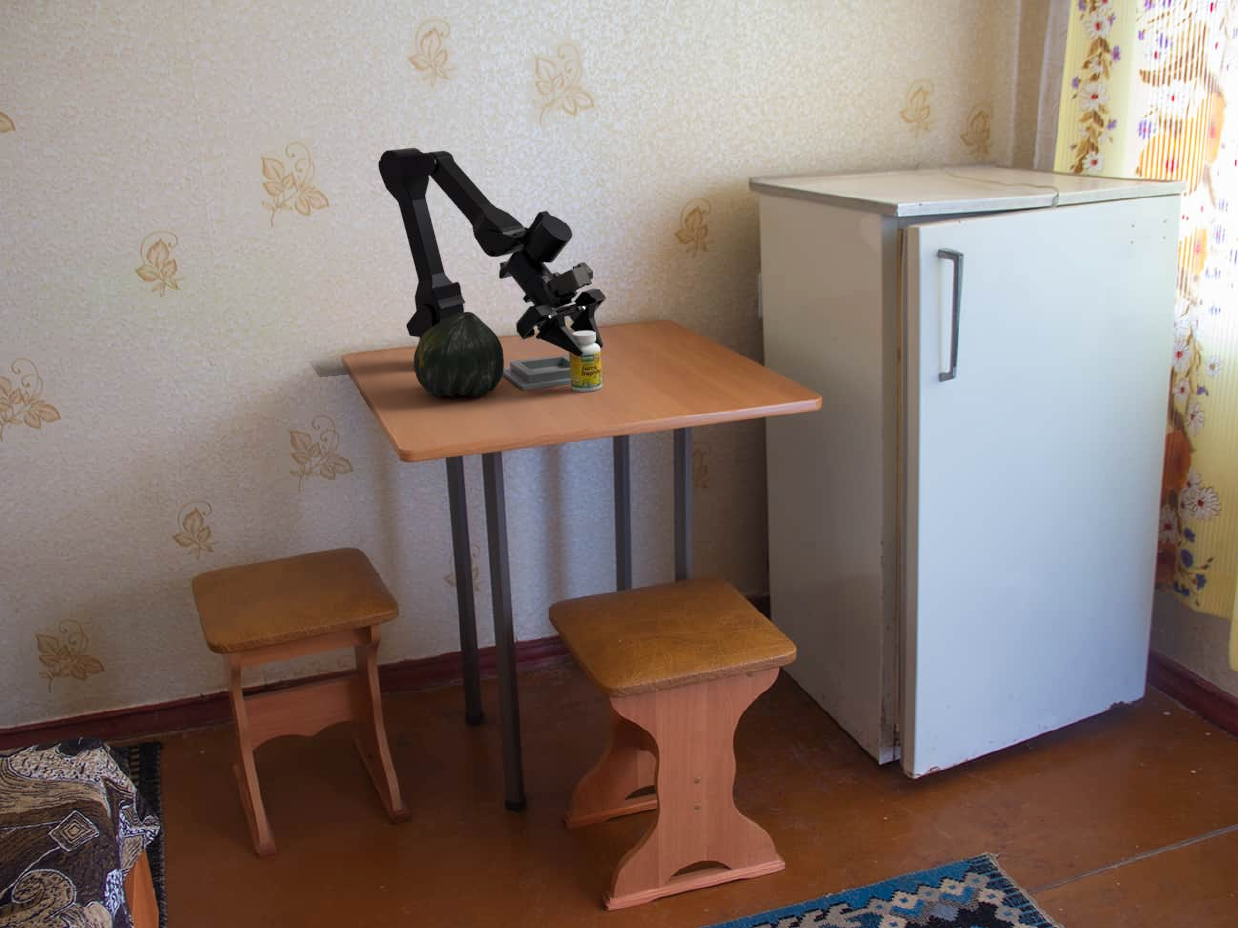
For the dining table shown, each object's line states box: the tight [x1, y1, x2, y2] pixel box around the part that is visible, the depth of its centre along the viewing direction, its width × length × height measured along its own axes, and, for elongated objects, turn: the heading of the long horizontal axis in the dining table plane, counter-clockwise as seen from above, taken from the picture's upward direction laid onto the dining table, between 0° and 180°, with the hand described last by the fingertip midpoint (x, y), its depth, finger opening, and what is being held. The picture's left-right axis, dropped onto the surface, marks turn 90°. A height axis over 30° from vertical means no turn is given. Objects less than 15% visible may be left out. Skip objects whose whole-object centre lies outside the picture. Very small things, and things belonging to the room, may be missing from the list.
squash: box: [413, 311, 505, 398], centre depth 195 cm, size 14×15×15 cm
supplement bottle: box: [568, 331, 603, 393], centre depth 196 cm, size 5×5×10 cm
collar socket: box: [502, 353, 571, 391], centre depth 206 cm, size 14×14×2 cm
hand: (591, 351), depth 195 cm, fingers closed on supplement bottle, 5 cm apart
